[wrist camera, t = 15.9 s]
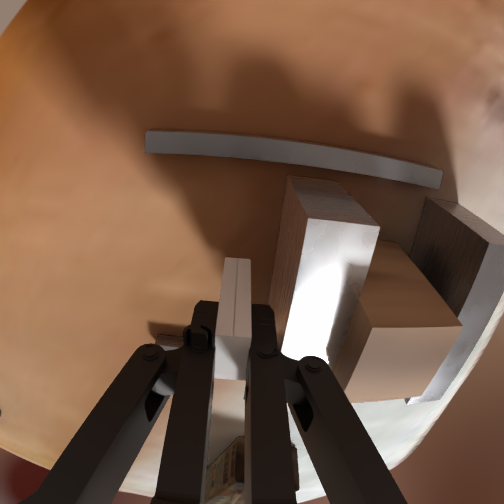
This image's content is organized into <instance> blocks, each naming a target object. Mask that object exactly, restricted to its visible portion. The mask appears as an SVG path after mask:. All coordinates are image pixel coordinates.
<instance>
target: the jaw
mask: <svg viewBox="0 0 504 504" xmlns="http://www.w3.org/2000/svg"><path fill="white" fill-rule="evenodd" d="M379 230H380V226H379V225H378V224H377V223H376V222H375V220H374V219H373V218H372V217H371V216H370V215H369V214H368V213H367V212H366V211H365V210H364V209H363V208H362V207H361V206H360V204H359V203H358V202H357V201H356V200H355V199H354V198H353V197H352V196H351V195H350V194H349V193H348V192H347V191H346V190H345V189H344V188H343V187H342V186H341V185H340V184H339V183H338V182H337V181H332V180H325V179H317V178H310V177H302V176H294V175H287V180H286V187H285V194H284V201H283V208H282V215H281V222H280V228H279V235H278V242H277V248H276V255H275V262H274V268H273V274H272V281H271V287H270V294H269V300H268V305H270V307H271V308H272V309H273V311H274V315H275V326H276V334H277V344H278V348H279V349H280V351H281V352H282V353H283V354H284V355H286V356H287V357H290V358H293V359H296V360H300V359H301V358H302V357H304V356H307V355H315V356H319V357H321V358H323V359H324V360H325V361H326V362H327V363H328V365H329V367H330V368H331V370H332V372H333V369H334V367H335V364H336V362H337V359H338V356H339V354H340V351H341V349H342V346H343V343H344V341H345V338H346V335H347V332H348V330H349V327H350V324H351V321H352V318H353V315H354V312H355V309H356V307H357V304H358V301H359V298H360V295H361V291H362V288H363V285H364V282H365V279H366V276H367V272H368V269H369V266H370V262H371V259H372V255H373V252H374V248H375V245H376V241H377V237H378V234H379ZM287 410H288V412H290V409H289V407H288V403H287Z"/></svg>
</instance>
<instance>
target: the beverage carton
mask: <svg viewBox="0 0 504 504" xmlns="http://www.w3.org/2000/svg"><path fill="white" fill-rule="evenodd" d="M291 450H292V460H293V471H294V482H295V492H296V491H298V490H299V472H298V460H297V459H298V456H297V448H295V447H291ZM244 470H245V437H241V436H240V437H238V438H237V439H236V440H235V441H234V442H233V443H232V444H231V445H230V446H229V447H228V448H227V449H226V450H225V451H224V452H223V453H222V454H221V455H220V456H219V458H218V459H217V460H216V461H215V462H214V463H213V464H212V465H211V466H210V467H209V468H208V469H207V470H206V480H205V493H204V504H244Z"/></svg>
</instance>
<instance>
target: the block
mask: <svg viewBox="0 0 504 504" xmlns="http://www.w3.org/2000/svg"><path fill="white" fill-rule="evenodd" d="M462 327H463V325H462V324H461V322H460V321H459V320H458V318H457V317H456V316H455V314H454V313H453V312H452V310H451V309H450V308H449V306H448V305H447V304H446V303H445V301H444V300H443V299H442V297H441V296H440V295H439V294H438V292H437V291H436V290H435V288H434V287H433V286H432V285H431V284H430V282H429V281H428V280H427V279H426V277H425V276H424V275H423V274H422V272H421V271H420V270H419V269H418V268H417V267H416V265H415V264H414V263H413V262H412V261H411V259H410V258H409V257H408V256H407V255H406V254H405V252H404V251H403V250H402V249H401V248H400V247H399V246H398V244H397V243H396V242H392V241H383V240H377V241H376V245H375V248H374V252H373V255H372V259H371V262H370V266H369V269H368V272H367V276H366V279H365V282H364V285H363V288H362V291H361V295H360V298H359V301H358V304H357V307H356V309H355V312H354V315H353V318H352V321H351V324H350V327H349V330H348V332H347V335H346V338H345V341H344V343H343V346H342V349H341V351H340V354H339V356H338V359H337V362H336V364H335V367H334V369H333V373H334V375H335V377H336V379H337V380H338V382H339V384H340V386H341V387H342V389H343V391H344V393H345V394H346V396H347V398H348V400H349V401H350V403H358V402H372V401H383V400H393V399H402V398H411V397H418V396H422V394H423V393H424V391H425V390H426V388H427V387H428V385H429V384H430V382H431V381H432V379H433V377H434V376H435V374H436V373H437V371H438V369H439V368H440V366H441V365H442V363H443V361H444V360H445V358H446V356H447V355H448V353H449V351H450V349H451V348H452V346H453V344H454V342H455V340H456V339H457V337H458V335H459V333H460V331H461V329H462Z"/></svg>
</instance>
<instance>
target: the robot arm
mask: <svg viewBox="0 0 504 504" xmlns="http://www.w3.org/2000/svg"><path fill="white" fill-rule="evenodd" d="M183 343H184V345H183V346H182V347H180V348H177V349H174V350H167V351H165V350H164V349H163V348H162V347H161V346H159V345H157V344H152V343H151V344H144V345H142V346H140V347H139V348H138V349H137V350H136V351H135V352H134V354H133V355H132V356H131V358H130V359H129V360H128V362H127V363H126V364H125V366H124V367H123V368H122V370H121V371H120V373H119V374H118V375H117V377H116V378H115V379H114V381H113V382H112V384H111V385H110V386H109V388H108V389H107V390H106V392H105V393H104V395H103V396H102V397H101V399H100V400H99V402H98V403H97V404H96V406H95V407H94V409H93V410H92V411H91V413H90V414H89V416H88V417H87V418H86V420H85V421H84V423H83V424H82V426H81V427H80V428H79V430H78V431H77V433H76V434H75V436H74V437H73V438H72V440H71V441H70V443H69V444H68V446H67V447H66V449H65V450H64V451H63V453H62V454H61V456H60V457H59V459H58V460H57V462H56V463H55V465H54V466H53V468H52V469H51V471H50V472H49V474H48V475H47V477H46V478H45V480H44V481H43V483H42V484H41V486H40V487H39V489H38V490H37V491H36V492H35V493H33V494H32V495H30V496H29V497H27V498H26V499H24V500H23V501H21V502H20V503H18V504H111V503H112V501H113V499H114V497H115V495H116V493H117V492H118V490H119V488H120V486H121V484H122V482H123V481H124V479H125V477H126V475H127V473H128V471H129V470H130V468H131V466H132V464H133V462H134V461H135V459H136V457H137V455H138V453H139V451H140V450H141V448H142V446H143V444H144V442H145V440H146V439H147V437H148V435H149V433H150V431H151V430H152V428H153V426H154V424H155V422H156V420H157V419H158V417H159V415H160V413H161V411H162V410H163V408H164V406H165V404H166V402H167V400H168V399H169V397H170V395H173V399H172V404H171V409H170V414H169V419H168V425H167V430H166V435H165V441H164V446H163V452H162V457H161V463H160V469H159V475H158V481H157V487H156V492H155V496H154V497H153V498H152V500H151V503H150V504H204V493H205V480H206V467H207V455H208V443H209V432H210V420H211V409H212V399H213V388H214V378H219V379H231V380H246V387H245V394H244V400H245V470H244V504H297V502H296V493H295V482H294V471H293V460H292V450H291V440H290V429H289V420H288V410H287V403H288V407H289V409H290V412H291V414H292V416H293V419H294V421H295V423H296V426H297V428H298V431H299V433H300V435H301V438H302V440H303V442H304V445H305V447H306V449H307V452H308V454H309V456H310V459H311V461H312V463H313V465H314V468H315V470H316V472H317V475H318V477H319V479H320V482H321V484H322V486H323V488H324V491H325V493H326V495H327V497H328V500H329V502H330V504H407V502H406V500H405V498H404V496H403V495H402V493H401V491H400V490H399V488H398V486H397V484H396V482H395V480H394V479H393V477H392V475H391V473H390V472H389V470H388V468H387V466H386V464H385V463H384V461H383V459H382V457H381V456H380V454H379V452H378V450H377V449H376V447H375V445H374V443H373V442H372V440H371V438H370V436H369V435H368V433H367V431H366V429H365V427H364V426H363V424H362V422H361V420H360V419H359V417H358V415H357V414H356V412H355V410H354V408H353V407H352V405H351V403H350V401H349V400H348V398H347V396H346V394H345V393H344V391H343V389H342V387H341V386H340V384H339V382H338V380H337V379H336V377H335V375H334V373H333V372H332V370H331V368H330V367H329V365H328V363H327V362H326V361H325V360H324V359H323V358H321V357H319V356H315V355H307V356H304V357H302V358H301V359H300V360H296V359H293V358H290V357H287V356H286V355H284V354H283V353H282V352H281V351H280V349H279V348H278V344H277V334H276V326H275V315H274V311H273V309H272V308H271V307H270V305H259V304H251V259H241V258H230V257H225V262H224V270H223V277H222V285H221V292H220V300H219V302H214V301H203V300H200V301H199V302H198V303H197V304H196V305H195V308H194V313H193V317H192V321H191V325H189V326H187V327H186V328H185V329H184V331H183ZM0 416H1V410H0Z"/></svg>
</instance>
